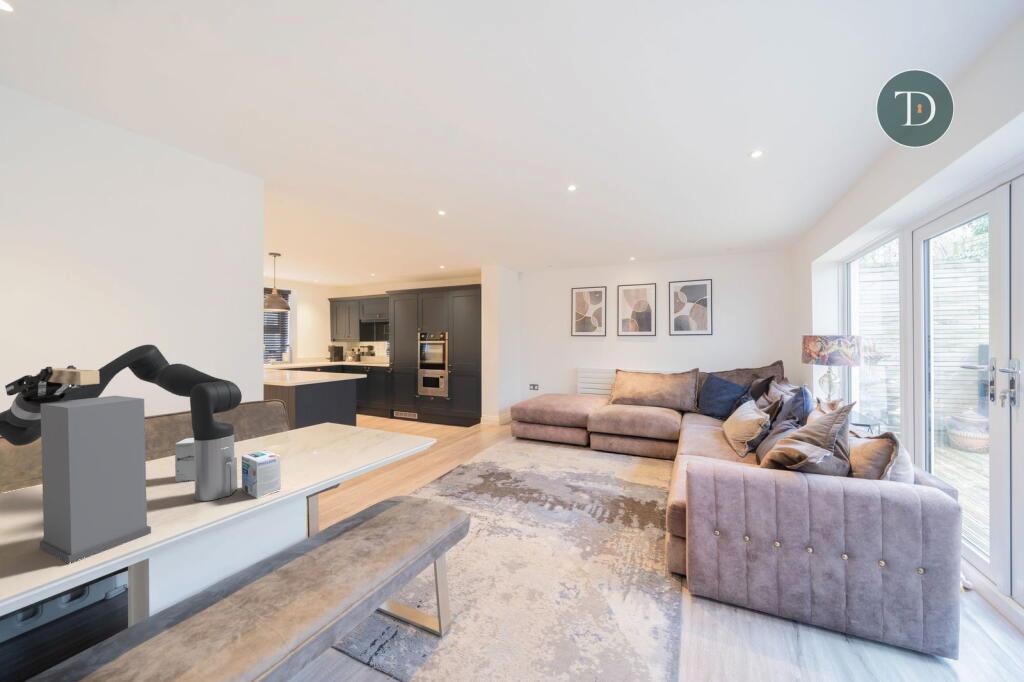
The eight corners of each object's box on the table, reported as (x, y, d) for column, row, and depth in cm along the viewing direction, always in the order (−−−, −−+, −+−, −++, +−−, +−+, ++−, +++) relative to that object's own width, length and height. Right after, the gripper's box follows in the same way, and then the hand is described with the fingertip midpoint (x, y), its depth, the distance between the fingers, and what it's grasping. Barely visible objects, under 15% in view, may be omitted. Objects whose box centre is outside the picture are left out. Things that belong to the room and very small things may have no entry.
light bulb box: (241, 491, 112) (240, 455, 112) (265, 483, 118) (265, 449, 118) (257, 499, 106) (256, 461, 106) (282, 491, 112) (281, 455, 112)
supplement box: (174, 482, 119) (173, 443, 119) (187, 474, 126) (186, 437, 126) (201, 480, 121) (200, 441, 121) (213, 472, 128) (212, 435, 128)
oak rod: (41, 381, 93) (40, 369, 93) (59, 379, 96) (59, 368, 95) (80, 385, 84) (80, 371, 84) (99, 383, 87) (99, 370, 87)
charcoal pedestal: (39, 548, 82) (35, 403, 82) (120, 521, 94) (117, 395, 94) (69, 564, 76) (65, 408, 76) (150, 533, 88) (147, 398, 88)
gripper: (-10, 391, 92) (11, 357, 86) (74, 384, 105) (98, 354, 99) (-4, 418, 90) (18, 386, 84) (80, 408, 103) (105, 379, 97)
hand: (61, 369), depth 91 cm, fingers closed on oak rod, 3 cm apart
